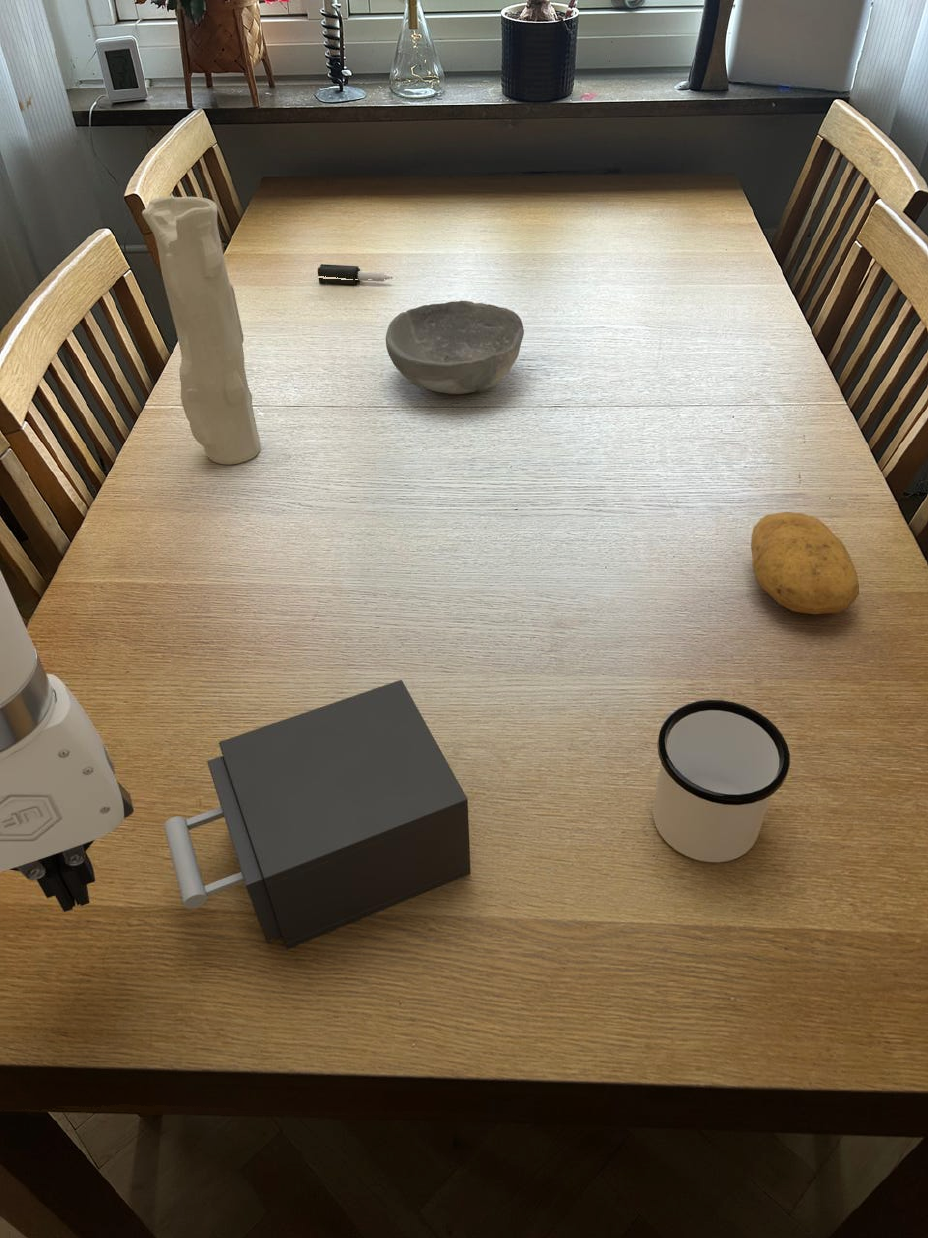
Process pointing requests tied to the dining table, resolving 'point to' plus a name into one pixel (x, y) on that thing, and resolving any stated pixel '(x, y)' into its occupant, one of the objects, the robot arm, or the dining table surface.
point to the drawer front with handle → (250, 871)
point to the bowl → (455, 345)
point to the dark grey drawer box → (348, 810)
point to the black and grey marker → (348, 274)
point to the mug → (716, 778)
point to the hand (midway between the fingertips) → (74, 890)
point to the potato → (803, 564)
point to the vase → (205, 327)
